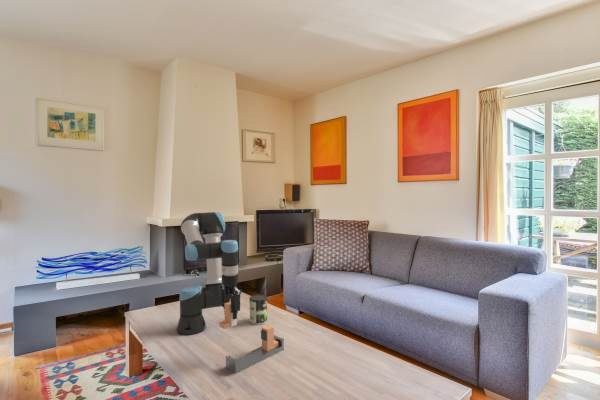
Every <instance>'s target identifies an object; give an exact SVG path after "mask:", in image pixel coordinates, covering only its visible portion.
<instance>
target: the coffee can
mask: <svg viewBox="0 0 600 400" xmlns="http://www.w3.org/2000/svg"><path fill="white" fill-rule="evenodd" d="M248 299H249V323H250V324H252V325H255V326H256V325H259V326H260V325H263V324H266V323H267V322H268V296H266V295H264V294H254V295H251V296H249V297H248Z"/></svg>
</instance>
